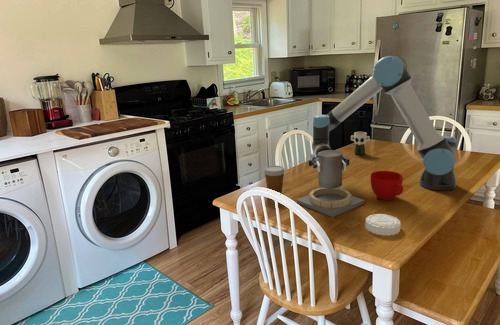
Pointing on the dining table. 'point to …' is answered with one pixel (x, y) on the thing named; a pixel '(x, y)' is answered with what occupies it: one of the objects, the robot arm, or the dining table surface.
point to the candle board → (332, 198)
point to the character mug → (360, 141)
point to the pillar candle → (330, 168)
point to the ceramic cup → (386, 184)
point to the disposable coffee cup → (274, 177)
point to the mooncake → (382, 224)
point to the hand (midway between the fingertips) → (332, 168)
